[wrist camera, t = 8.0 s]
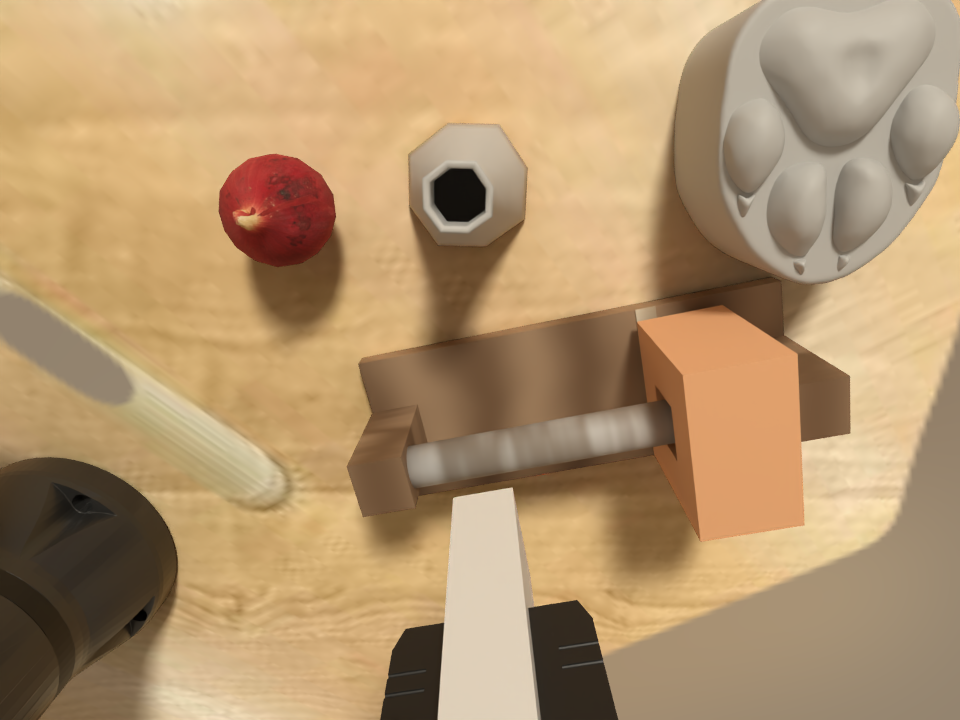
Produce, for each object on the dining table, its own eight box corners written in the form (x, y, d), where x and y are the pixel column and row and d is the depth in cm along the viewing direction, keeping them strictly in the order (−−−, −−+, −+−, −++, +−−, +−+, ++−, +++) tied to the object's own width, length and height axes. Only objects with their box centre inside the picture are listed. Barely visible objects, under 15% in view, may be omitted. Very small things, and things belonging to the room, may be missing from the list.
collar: (653, 454, 37) (700, 541, 29) (636, 321, 35) (682, 375, 26) (733, 440, 37) (804, 525, 28) (722, 304, 34) (797, 353, 26)
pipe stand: (400, 489, 41) (379, 567, 33) (362, 357, 38) (328, 409, 30) (779, 423, 39) (850, 490, 31) (772, 277, 36) (849, 310, 28)
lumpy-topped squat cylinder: (876, 9, 31) (1013, -45, 23) (844, 255, 35) (951, 285, 27) (677, 27, 31) (741, -19, 23) (669, 267, 36) (722, 300, 27)
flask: (543, 228, 35) (561, 254, 26) (429, 263, 36) (405, 301, 26) (510, 102, 33) (516, 80, 23) (389, 143, 34) (347, 137, 24)
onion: (312, 134, 34) (258, 128, 26) (367, 223, 35) (333, 241, 28) (232, 188, 35) (159, 196, 27) (290, 271, 36) (236, 301, 29)
